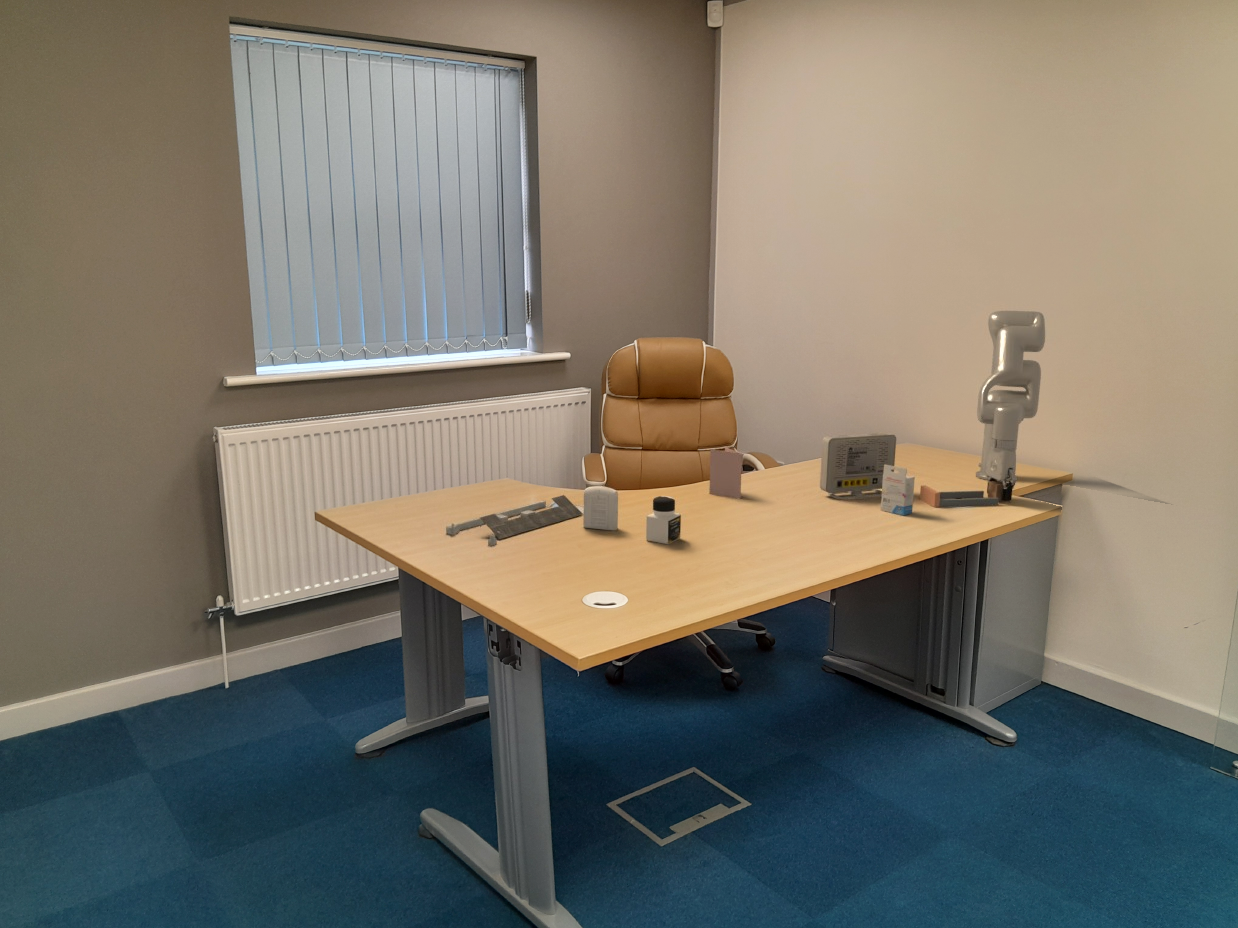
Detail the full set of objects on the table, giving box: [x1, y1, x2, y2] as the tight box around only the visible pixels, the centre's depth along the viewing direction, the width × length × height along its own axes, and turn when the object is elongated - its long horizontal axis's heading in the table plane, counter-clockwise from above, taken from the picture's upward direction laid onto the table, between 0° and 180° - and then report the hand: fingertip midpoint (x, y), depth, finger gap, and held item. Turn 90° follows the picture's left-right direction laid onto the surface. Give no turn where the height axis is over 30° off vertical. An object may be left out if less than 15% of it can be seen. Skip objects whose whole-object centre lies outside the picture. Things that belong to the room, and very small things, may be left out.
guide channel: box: [919, 485, 1000, 508], centre depth 297 cm, size 10×22×4 cm, turn 98°
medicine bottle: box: [645, 495, 682, 545], centre depth 255 cm, size 7×7×12 cm
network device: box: [819, 432, 897, 500], centre depth 304 cm, size 26×9×20 cm, turn 108°
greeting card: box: [708, 446, 743, 499], centre depth 303 cm, size 11×7×15 cm, turn 22°
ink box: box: [880, 465, 916, 516], centre depth 284 cm, size 8×5×15 cm, turn 39°
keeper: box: [986, 481, 1011, 504], centre depth 299 cm, size 5×5×6 cm
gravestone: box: [582, 485, 619, 531], centre depth 265 cm, size 10×4×12 cm, turn 72°
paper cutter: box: [445, 494, 584, 547], centre depth 271 cm, size 18×45×6 cm, turn 140°
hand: (998, 496), depth 299 cm, fingers open, 8 cm apart
